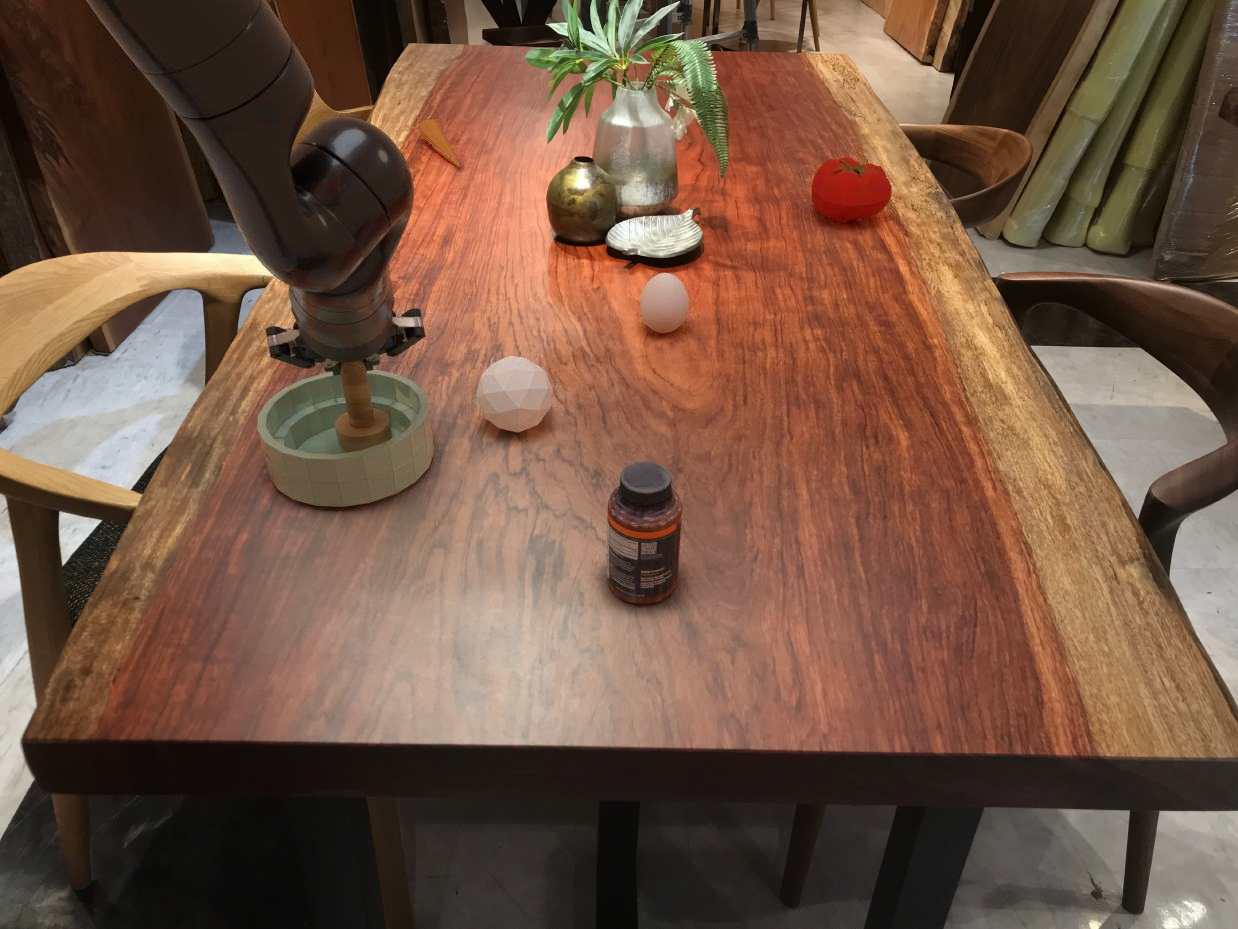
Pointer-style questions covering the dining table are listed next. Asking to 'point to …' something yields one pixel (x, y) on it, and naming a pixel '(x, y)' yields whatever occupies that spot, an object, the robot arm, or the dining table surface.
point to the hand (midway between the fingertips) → (351, 363)
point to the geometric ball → (514, 393)
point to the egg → (664, 303)
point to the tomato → (850, 190)
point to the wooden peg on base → (360, 412)
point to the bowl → (311, 454)
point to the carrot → (437, 138)
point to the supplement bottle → (643, 534)
